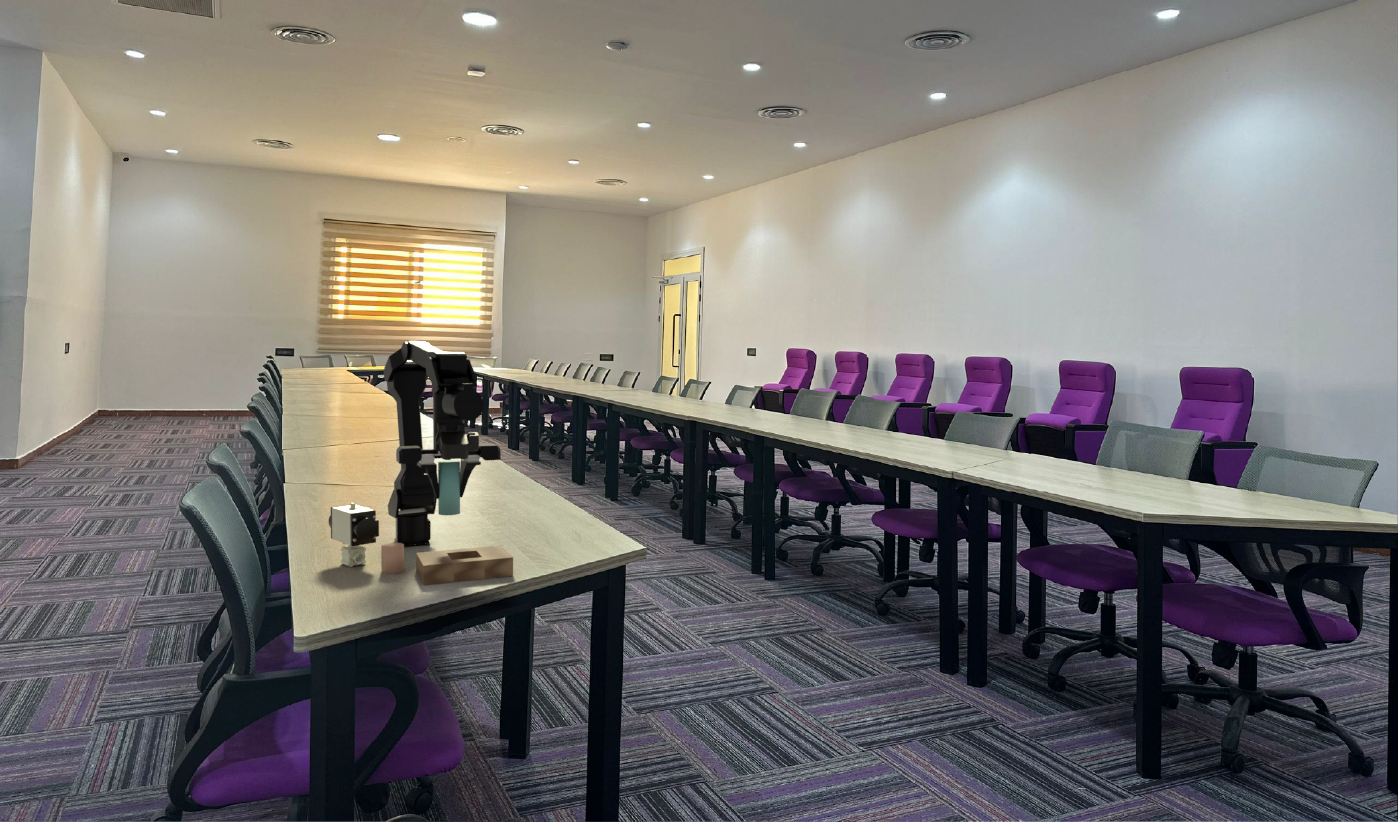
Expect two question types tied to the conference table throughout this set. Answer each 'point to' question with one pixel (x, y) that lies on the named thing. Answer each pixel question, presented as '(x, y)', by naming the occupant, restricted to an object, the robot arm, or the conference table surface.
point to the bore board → (463, 564)
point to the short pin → (392, 558)
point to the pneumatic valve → (353, 531)
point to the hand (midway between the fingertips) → (449, 497)
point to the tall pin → (449, 487)
